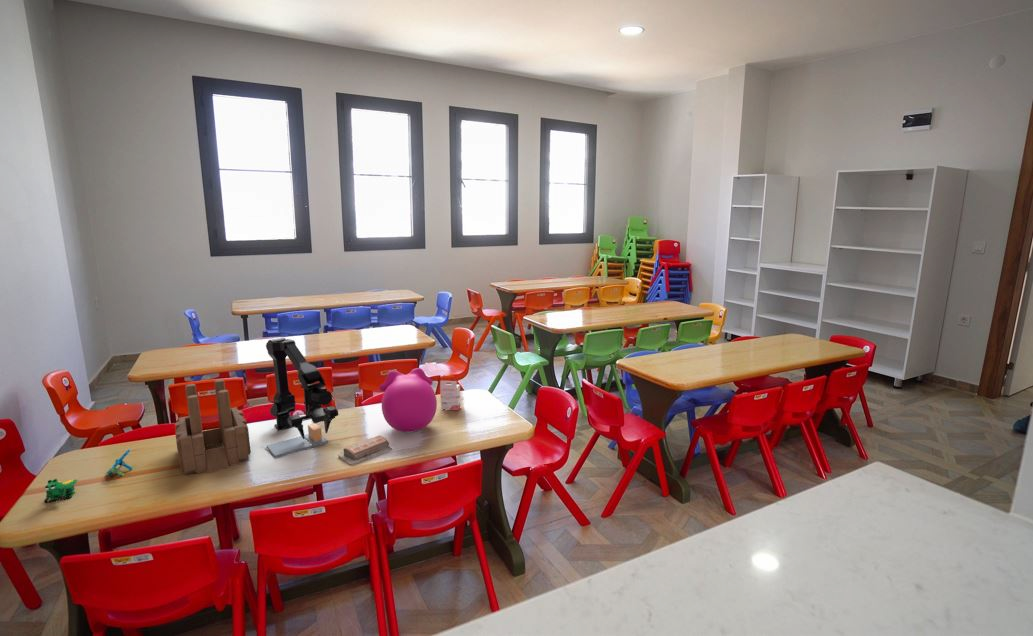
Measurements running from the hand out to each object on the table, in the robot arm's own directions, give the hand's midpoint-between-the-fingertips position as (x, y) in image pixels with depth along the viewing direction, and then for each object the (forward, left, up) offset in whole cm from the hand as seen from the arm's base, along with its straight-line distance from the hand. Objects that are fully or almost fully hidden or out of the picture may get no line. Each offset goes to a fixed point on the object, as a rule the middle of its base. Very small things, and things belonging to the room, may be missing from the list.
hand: (315, 435), depth 213 cm
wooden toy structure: (-12, -34, -2) cm, 37 cm away
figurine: (+15, +35, -2) cm, 39 cm away
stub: (0, 0, -2) cm, 2 cm away
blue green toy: (-20, -63, -2) cm, 67 cm away
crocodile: (-12, -79, -2) cm, 80 cm away
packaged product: (+25, +11, -3) cm, 27 cm away
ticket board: (0, -10, -2) cm, 10 cm away
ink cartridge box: (+7, +62, -2) cm, 62 cm away
